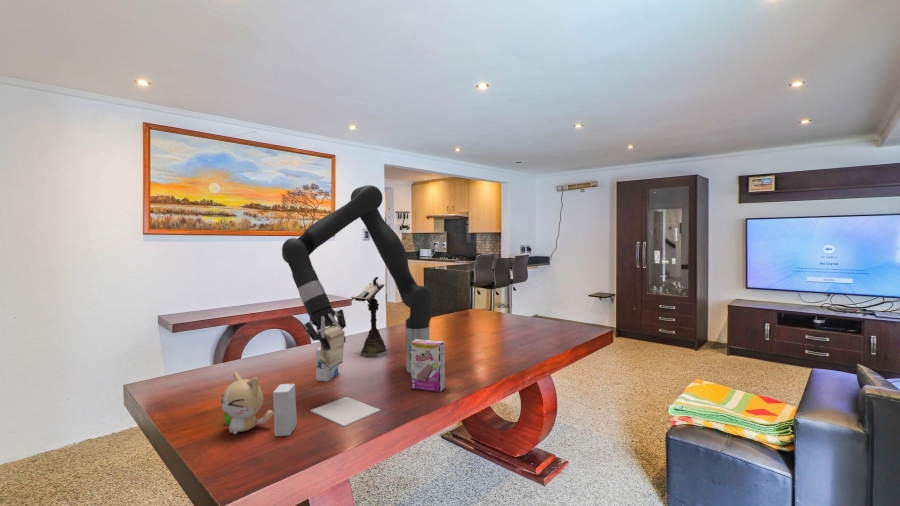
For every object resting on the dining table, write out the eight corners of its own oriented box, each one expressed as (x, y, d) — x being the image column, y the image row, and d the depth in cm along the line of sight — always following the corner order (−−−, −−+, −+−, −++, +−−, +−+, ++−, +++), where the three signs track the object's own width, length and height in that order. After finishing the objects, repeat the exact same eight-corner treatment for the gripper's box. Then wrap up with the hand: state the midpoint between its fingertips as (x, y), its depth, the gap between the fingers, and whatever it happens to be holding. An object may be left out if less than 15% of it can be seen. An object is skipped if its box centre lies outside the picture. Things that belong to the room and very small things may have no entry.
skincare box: (281, 426, 115) (279, 383, 114) (296, 425, 115) (295, 383, 115) (273, 436, 109) (272, 392, 108) (290, 435, 109) (289, 391, 109)
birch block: (320, 361, 133) (321, 330, 128) (333, 355, 137) (334, 324, 132) (329, 369, 130) (331, 337, 126) (342, 362, 134) (344, 331, 129)
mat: (310, 411, 124) (310, 410, 124) (346, 398, 134) (346, 396, 134) (344, 426, 114) (344, 425, 114) (380, 411, 124) (380, 409, 124)
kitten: (209, 429, 113) (207, 376, 113) (243, 416, 122) (241, 365, 121) (241, 443, 106) (239, 385, 105) (275, 427, 114) (273, 374, 113)
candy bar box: (410, 389, 141) (409, 342, 140) (415, 384, 146) (415, 338, 145) (440, 393, 137) (440, 344, 137) (445, 388, 142) (445, 340, 142)
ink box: (327, 373, 159) (326, 343, 159) (339, 373, 158) (338, 343, 158) (315, 380, 151) (314, 349, 150) (328, 381, 150) (327, 349, 149)
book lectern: (364, 362, 172) (362, 278, 170) (346, 356, 180) (344, 277, 179) (395, 354, 184) (393, 275, 183) (376, 348, 193) (375, 274, 191)
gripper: (299, 300, 124) (322, 352, 122) (338, 287, 135) (360, 335, 133) (289, 308, 129) (311, 358, 127) (327, 294, 139) (348, 341, 138)
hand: (336, 346), depth 130 cm, fingers closed on birch block, 5 cm apart
